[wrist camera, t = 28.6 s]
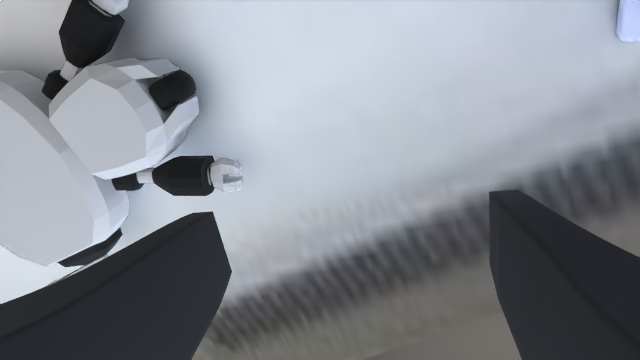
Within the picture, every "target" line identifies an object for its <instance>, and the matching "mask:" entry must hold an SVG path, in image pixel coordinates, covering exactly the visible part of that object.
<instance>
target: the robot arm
mask: <svg viewBox="0 0 640 360" xmlns="http://www.w3.org/2000/svg"><path fill="white" fill-rule="evenodd" d="M616 32H617V36H618V37H619V39H621V40H623V41H627V42H635V41H640V0H620V3H619V11H618V20H617V28H616ZM489 213H490V267H491V271H492V275H493V279H494V283H495V287H496V291H497V295H498V299H499V302H500V304H501V307H502V310H503V312H504V315H505V317H506V319H507V323H508V325H509V327H510V330H511V333H512V335H513V338H514V340H515V343H516V345H517V348H518V350H519V353H520V356H521V358H522V360H640V257H638V256H635V255H633V254H631V253H629V252H627V251H625V250H623V249H621V248H619V247H617V246H615V245H613V244H611V243H609V242H607V241H605V240H603V239H601V238H599V237H598V236H596V235H594V234H592V233H590V232H588V231H587V230H585V229H583V228H581V227H579V226H578V225H576V224H574V223H572V222H571V221H569V220H567V219H566V218H564V217H562V216H561V215H559V214H557V213H556V212H554V211H552V210H551V209H549V208H547V207H546V206H544V205H543V204H541V203H539V202H538V201H536V200H535V199H533V198H531V197H530V196H528V195H526V194H525V193H523V192H521V191H519V190H507V191H493V192H489ZM231 273H232V271H231V267H230V264H229V261H228V258H227V255H226V252H225V249H224V246H223V242H222V239H221V236H220V233H219V230H218V227H217V224H216V220H215V217H214V214H213V212H200V213H192V214H189V215H186V216H184V217H182V218H180V219H178V220H175V221H173V222H172V223H170V224H168V225H166V226H164V227H162V228H160V229H158V230H156V231H155V232H153V233H151V234H149V235H147V236H145V237H144V238H142V239H140V240H138V241H136V242H135V243H133V244H131V245H129V246H127V247H125V248H124V249H122V250H120V251H118V252H116V253H114V254H112V255H110V256H108V257H106V258H104V259H103V260H101V261H99V262H97V263H95V264H93V265H91V266H89V267H87V268H85V269H83V270H81V271H79V272H77V273H75V274H73V275H71V276H68V277H66V278H64V279H62V280H60V281H57V282H55V283H53V284H51V285H48V286H46V287H44V288H41V289H39V290H37V291H34V292H32V293H29V294H27V295H24V296H22V297H19V298H16V299H14V300H11V301H8V302H6V303H3V304H0V360H191V359H192V357H193V355H194V353H195V352H196V350H197V348H198V346H199V344H200V342H201V340H202V338H203V337H204V335H205V333H206V331H207V329H208V327H209V325H210V323H211V321H212V320H213V318H214V316H215V314H216V312H217V310H218V308H219V306H220V304H221V301H222V299H223V296H224V293H225V291H226V288H227V285H228V282H229V279H230V276H231Z"/></svg>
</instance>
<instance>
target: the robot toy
mask: <svg viewBox="0 0 640 360" xmlns="http://www.w3.org/2000/svg"><path fill="white" fill-rule="evenodd" d="M128 2H129V0H72V1H71V4H70V6H69V9H68V11H67V13H66V16H65V18H64V20H63V23H62V25H61V28H60V30H59V35H60V40H61V44H62V48H63V52H64V55H65V58H66V61H65V63H64V65H63V68H62V70H54V71H53V72H51V73H49V74H48V77H47V79H46V81H45V82H44V81H42V80H41V79H39V78H37V77H35V76H33V75H31V74H29V73H27V72H25V71H23V70H0V245H2V246H3V247H5V248H6V249H7V250H9V251H10V252H11V253H13V254H15V255H16V256H18V257H19V258H22V259H25V260H28V261H31V262H34V263H37V264H40V265H43V266H48V265H51V264H54V263H59V264H61V265H62V266H64V267H70V266H78V265H85V266H83V267H81V268H79V269H77V270H76V271H74V272H72V273H70V274H68V275H66V276H65V277H63V278H61V279H59V280H56V281H54V282H52V283H50V284H49V285H51V284H53V283H55V282H57V281H60V280H62V279H64V278H66V277H68V276H71V275H73V274H75V273H77V272H79V271H81V270H83V269H85V268H87V267H89V266H91V265H93V264H95V263H97V262H99V261H101V260H103V259H104V258H106V257H108V255H107V253H108V252H109V251H110V250H111V249H112V248H113V247H114V245H115V244H116V243H117V241H118V240H119V239H120V237H121V236H122V232H121V228H120V226H121V225H122V223H123V222H124V220H125V219H126V217H127V216H128V214H129V201H128V194H127V191H135V190H137V189H140V188H141V187H142V186H143V185H144V183H155V184H156V185H157V186H159V187H160V188H162V189H163V190H165V191H167V192H169V193H170V194H172V195H174V196H207V195H209V194H210V193H212V192H213V190H214V188H216V189H219V190H221V191H223V192H232V191H236V190H239V189H240V188H241V187H242V185H243V182H244V180H243V176H242V177H231V176H228V174H240V173H241V172H242V166H241V165H240V164H239V162H238V161H235V160H230V159H226V158H221V159H219V160H217V161H215V162H214V159H213V156H180V157H176V158H173V159H171V160H169V161H167V162H165V163H163V164H161V165H160V166H158V167H156V168H149V167H152V166H154V165H156V164H157V163H159V162H160V161H161V160H163V159H164V158H165V157H167V156H168V155H169V154H171V153H172V152H173V151H175V150H176V149H177V148H178V147H179V145H180V144H181V143H182V142H183V141H184V139H185V138H186V133H187V128H188V127H189V126H190V124H191V123H192V122H193V120H194V119H195V118H196V117H197V115H198V114H199V105H198V98H197V96H196V97H194V98H192V99H190V100H188V101H186V102H185V103H183V104H181V102H183V101H184V100H186V99H188V98H190V97H191V96H193V95H194V94H195V92H196V86H195V83H194V81H193V79H192V78H191V76H190V75H189V74H188V73H186V72H185V71H182V70H180V71H175V70H178V69H180V68H179V67H177V66H176V65H174V64H173V63H171V62H170V61H169V60H167V59H166V58H161V59H153V60H146V61H143V60H139V59H136V58H133V57H131V58H125V59H119V60H114V61H109V62H105V63H101V64H96V65H92V66H88V65H90V64H92V63H93V62H95V61H96V60H98V59H99V58H101V57H102V56H104V55H105V54H107V53H108V52H110V51H111V49H112V47H113V45H114V43H115V41H116V38H117V36H118V34H119V32H120V30H121V28H122V26H123V24H124V22H125V20H124V19H123V18H122V17H121V16H120V15H119V14H118V13H119V12H121V11H122V10H124V9H126V8H127V6H128ZM86 66H87V67H86ZM172 71H175V72H173V73H171V74H169V75H167V76H165V77H163V76H162V75H164V74H167V73H170V72H172Z"/></svg>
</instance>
